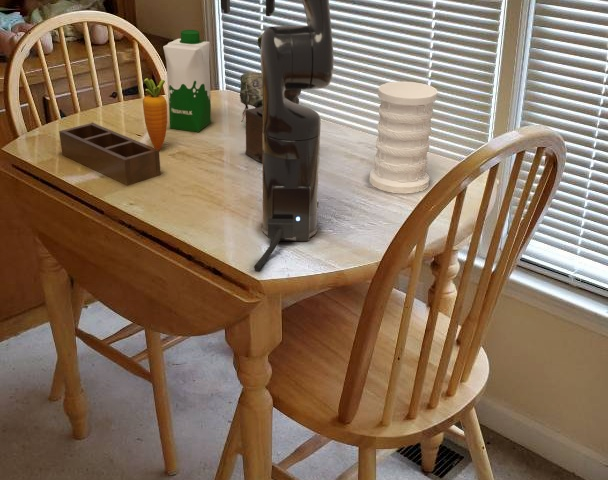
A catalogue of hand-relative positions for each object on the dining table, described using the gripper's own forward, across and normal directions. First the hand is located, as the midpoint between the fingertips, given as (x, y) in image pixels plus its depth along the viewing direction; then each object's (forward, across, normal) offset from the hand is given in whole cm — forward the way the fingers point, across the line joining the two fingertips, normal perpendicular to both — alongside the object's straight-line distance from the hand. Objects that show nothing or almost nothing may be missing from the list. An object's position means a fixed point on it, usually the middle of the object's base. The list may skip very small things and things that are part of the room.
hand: (247, 14), depth 160 cm
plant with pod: (+27, 0, +12) cm, 29 cm away
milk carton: (+27, -16, +8) cm, 32 cm away
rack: (+26, -24, -20) cm, 40 cm away
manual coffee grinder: (+27, +10, -8) cm, 29 cm away
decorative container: (+27, +34, -13) cm, 45 cm away
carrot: (+27, -17, -9) cm, 33 cm away
